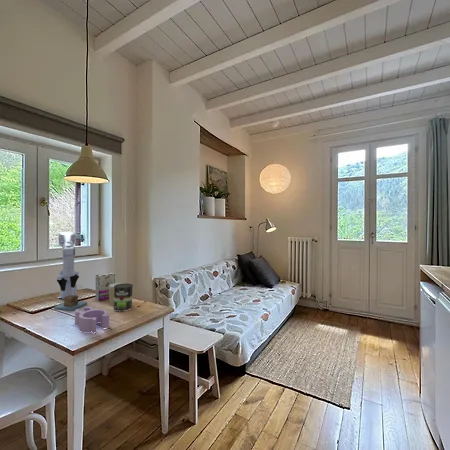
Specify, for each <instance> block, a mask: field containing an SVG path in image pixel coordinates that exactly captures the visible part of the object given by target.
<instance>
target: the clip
mask: <svg viewBox="0 0 450 450" xmlns="http://www.w3.org/2000/svg"><path fill="white" fill-rule="evenodd" d="M108 313H109V312H108V311H107V310H105V309H98V308H97V309H96V308H94V307H92V306H83V311H81V310H80V308H78V309H76V310H74V325H75V326H76V325H78V326H77V327H78V331H79V330H80V331H82V332H91V331H92V332H93V333H94V332H96V333H97V324H98V323H97V322H101V323H102V324H101V329H102V328H106V327H109V328H110V314H108ZM80 331H79V332H80ZM82 332H81V333H82Z"/></svg>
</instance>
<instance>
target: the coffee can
mask: <svg viewBox="0 0 450 450" xmlns="http://www.w3.org/2000/svg"><path fill="white" fill-rule="evenodd" d="M133 287H134V285H133V284H131V283H127V282H126V283H123V284H117V285H115V286H114V306H113V312H116V311H119V312H118V313H121V312H120V311H125V312H127V311H126V310H129V309H131V308H132V309H133ZM132 309H131V310H132ZM129 311H130V310H129Z"/></svg>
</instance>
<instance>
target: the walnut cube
mask: <svg viewBox="0 0 450 450" xmlns="http://www.w3.org/2000/svg"><path fill="white" fill-rule="evenodd" d="M78 298H79V296H78V294H77V295H69V296H66V297H64V299H63V303H64V306H73V305H76V304H78V302H79V299H78Z"/></svg>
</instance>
